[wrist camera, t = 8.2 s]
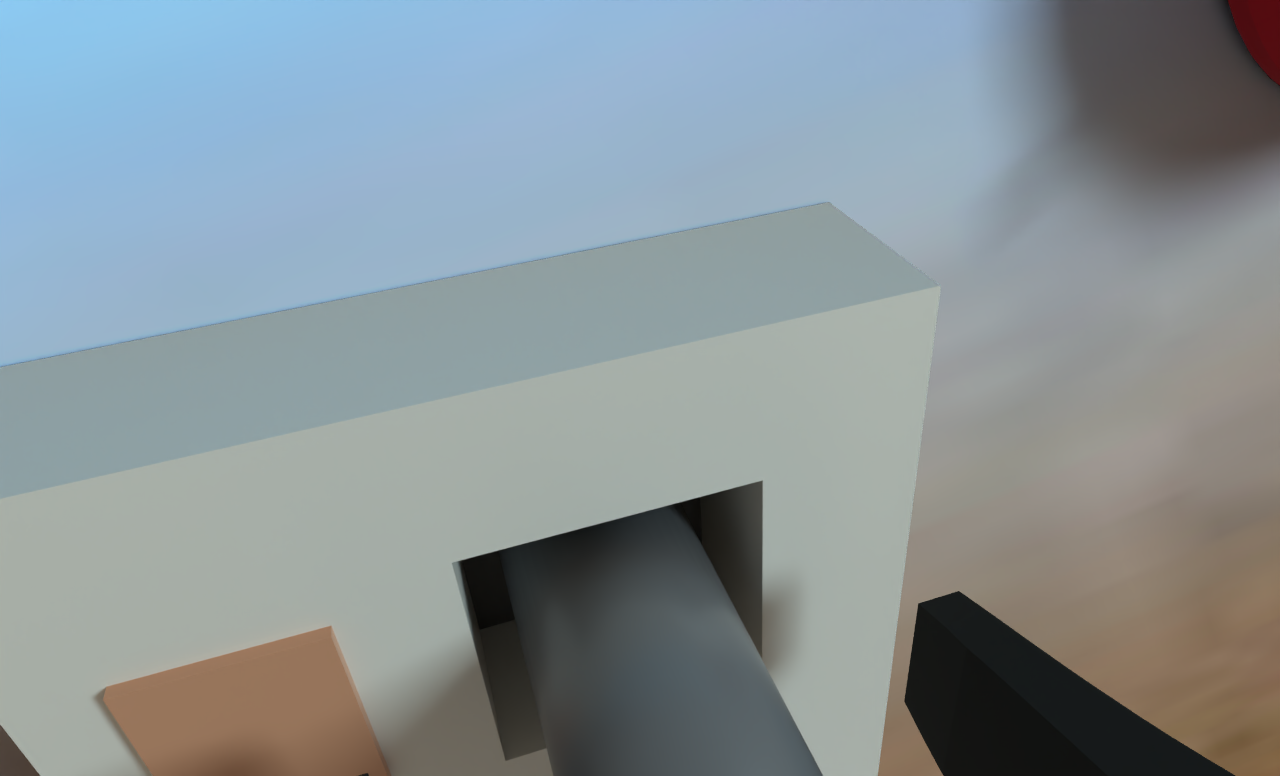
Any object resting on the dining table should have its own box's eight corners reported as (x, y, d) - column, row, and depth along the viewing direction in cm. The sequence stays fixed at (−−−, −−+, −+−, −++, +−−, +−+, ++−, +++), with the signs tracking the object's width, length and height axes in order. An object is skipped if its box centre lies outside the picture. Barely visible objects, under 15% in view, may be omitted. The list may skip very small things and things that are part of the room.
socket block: (798, 840, 23) (858, 965, 21) (337, 1005, 21) (341, 1170, 18) (829, 202, 13) (950, 292, 11) (-47, 376, 11) (-159, 546, 8)
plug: (673, 548, 16) (944, 1110, 9) (510, 596, 15) (667, 1235, 8) (659, 415, 14) (981, 981, 7) (475, 463, 14) (637, 1126, 7)
